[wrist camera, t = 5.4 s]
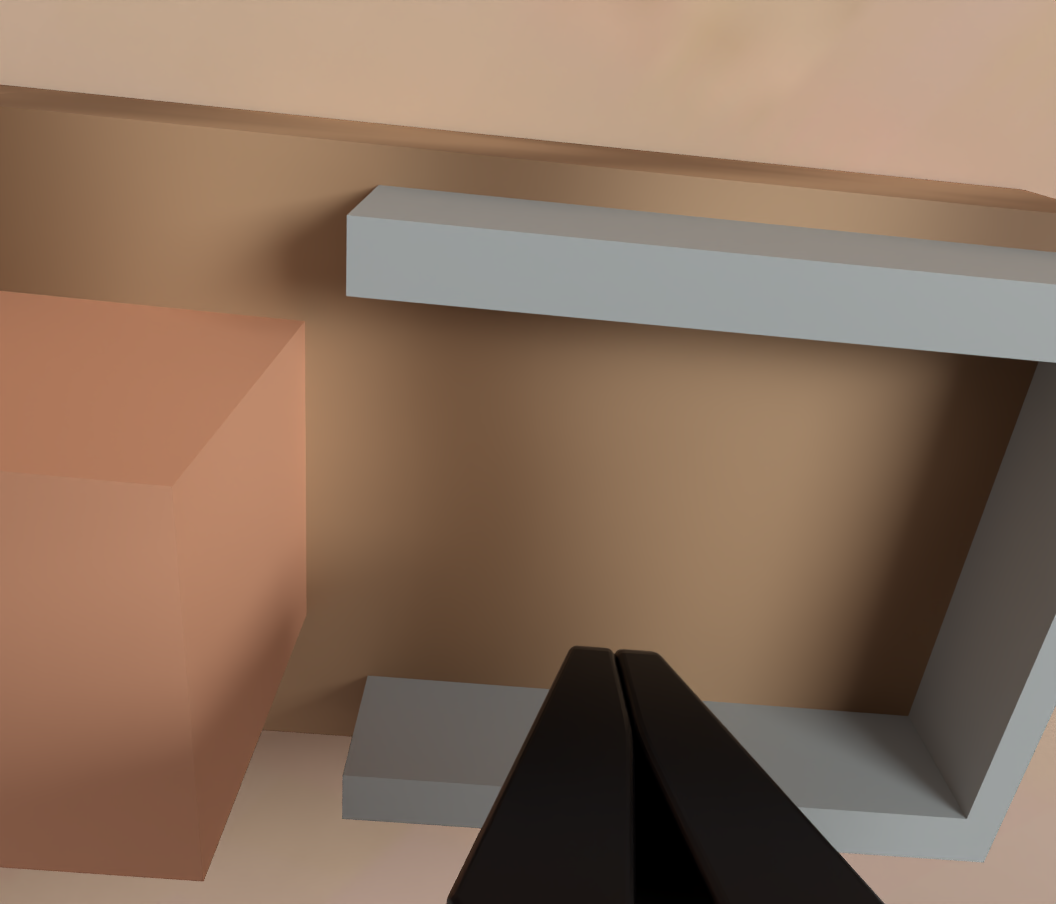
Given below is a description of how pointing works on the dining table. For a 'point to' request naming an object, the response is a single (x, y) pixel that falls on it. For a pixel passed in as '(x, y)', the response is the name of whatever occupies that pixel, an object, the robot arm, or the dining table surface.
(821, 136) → the dining table surface
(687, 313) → the grey u-shaped piece
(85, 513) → the block
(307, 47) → the dining table surface
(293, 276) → the tray
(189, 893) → the dining table surface
